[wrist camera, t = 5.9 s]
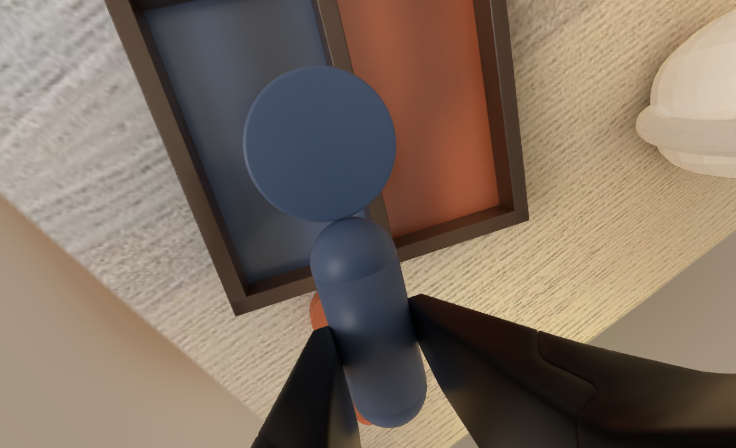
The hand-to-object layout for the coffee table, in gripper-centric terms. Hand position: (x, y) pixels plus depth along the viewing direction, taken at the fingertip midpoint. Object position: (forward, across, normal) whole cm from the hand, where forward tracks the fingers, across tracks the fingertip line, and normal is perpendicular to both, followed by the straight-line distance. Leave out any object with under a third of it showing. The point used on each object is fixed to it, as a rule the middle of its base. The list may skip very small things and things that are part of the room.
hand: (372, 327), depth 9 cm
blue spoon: (+1, 0, -2) cm, 2 cm away
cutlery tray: (+11, -2, -4) cm, 12 cm away
